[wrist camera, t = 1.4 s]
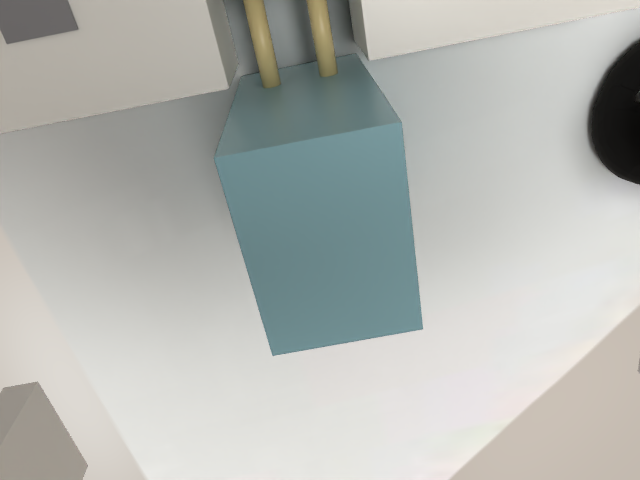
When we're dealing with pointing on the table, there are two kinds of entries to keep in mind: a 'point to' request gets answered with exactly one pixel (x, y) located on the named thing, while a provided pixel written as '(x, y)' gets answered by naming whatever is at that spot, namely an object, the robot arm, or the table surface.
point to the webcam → (620, 119)
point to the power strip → (207, 46)
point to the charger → (319, 196)
